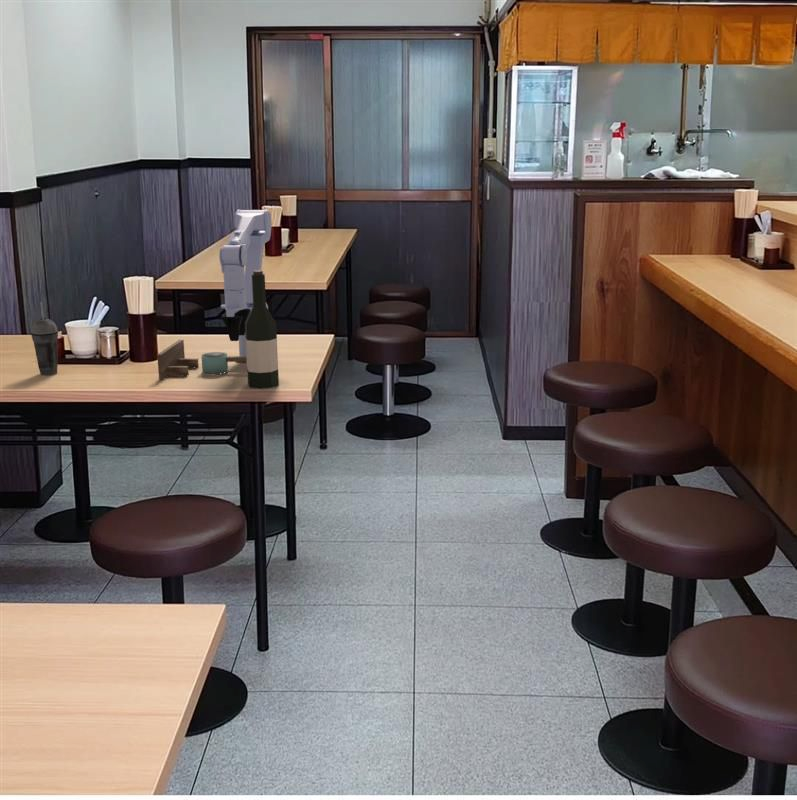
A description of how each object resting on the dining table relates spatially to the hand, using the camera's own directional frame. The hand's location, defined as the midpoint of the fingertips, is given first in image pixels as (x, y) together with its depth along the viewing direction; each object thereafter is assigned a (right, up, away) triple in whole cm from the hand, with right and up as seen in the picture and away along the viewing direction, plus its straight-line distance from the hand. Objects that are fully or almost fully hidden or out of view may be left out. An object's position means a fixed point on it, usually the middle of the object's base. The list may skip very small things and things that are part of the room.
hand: (237, 338), depth 279 cm
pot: (-3, -10, +1) cm, 10 cm away
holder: (-16, -9, +2) cm, 19 cm away
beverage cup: (-53, -10, +2) cm, 54 cm away
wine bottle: (+9, -13, -13) cm, 21 cm away
